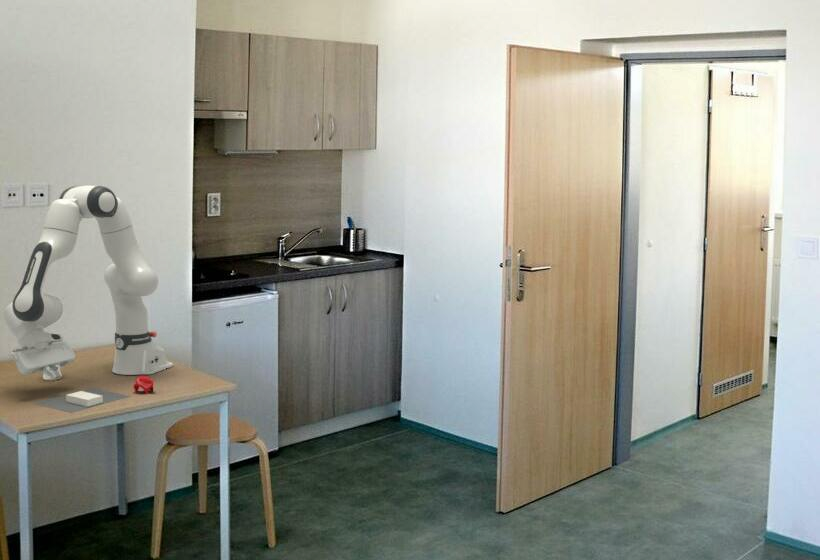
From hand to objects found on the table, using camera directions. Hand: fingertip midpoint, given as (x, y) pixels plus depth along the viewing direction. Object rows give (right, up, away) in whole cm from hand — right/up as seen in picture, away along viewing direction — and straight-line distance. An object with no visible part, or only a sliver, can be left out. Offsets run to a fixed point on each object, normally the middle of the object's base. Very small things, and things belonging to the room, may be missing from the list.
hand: (57, 378), depth 332 cm
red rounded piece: (+26, -6, +9) cm, 28 cm away
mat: (+9, -7, -2) cm, 12 cm away
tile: (+6, -6, -3) cm, 9 cm away
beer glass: (-11, -3, +26) cm, 28 cm away
